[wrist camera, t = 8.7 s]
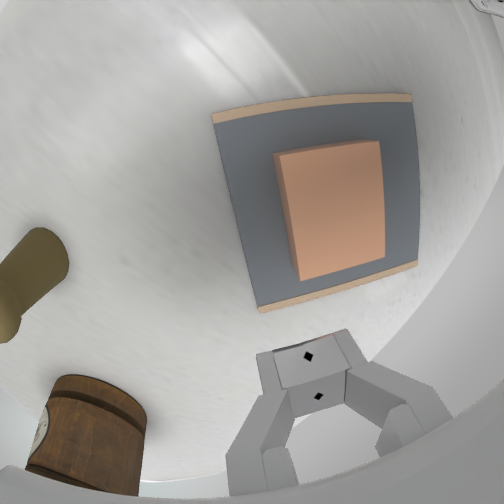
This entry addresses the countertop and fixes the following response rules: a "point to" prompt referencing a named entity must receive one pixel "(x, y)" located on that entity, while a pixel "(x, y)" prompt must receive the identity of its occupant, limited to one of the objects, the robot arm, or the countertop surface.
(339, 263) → the tile
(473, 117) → the countertop surface
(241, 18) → the countertop surface
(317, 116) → the mat
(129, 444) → the wooden container
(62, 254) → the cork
